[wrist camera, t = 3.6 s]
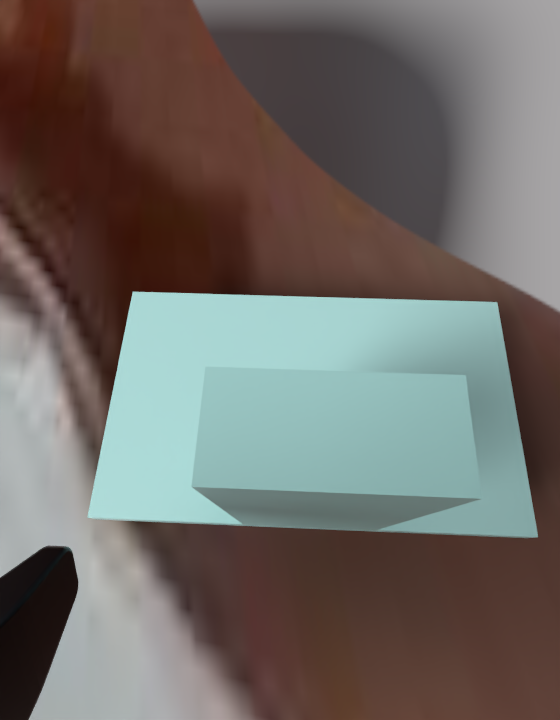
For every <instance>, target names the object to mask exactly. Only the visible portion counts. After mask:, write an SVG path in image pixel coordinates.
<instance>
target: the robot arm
mask: <svg viewBox="0 0 560 720" xmlns="http://www.w3.org/2000/svg"><path fill="white" fill-rule="evenodd" d="M77 591H78V578H77V573H76V568H75V563H74V558H73V553H72V550H71V549H70V548H69V547H65V546H46V547H44V548H42V549H40V550H39V551H37V552H36V553H35V554H33V555H32V556H30V557H29V558H27V559H26V560H25V561H23V562H22V563H20V564H19V565H18V566H16V567H15V568H13V569H12V570H10V571H9V572H8V573H6V574H5V575H3V576H2V577H1V578H0V720H29V717H30V715H31V713H32V711H33V709H34V707H35V704H36V702H37V700H38V698H39V695H40V693H41V691H42V688H43V686H44V683H45V680H46V678H47V675H48V673H49V670H50V667H51V664H52V662H53V659H54V656H55V653H56V650H57V648H58V645H59V642H60V639H61V637H62V634H63V631H64V628H65V626H66V623H67V620H68V617H69V614H70V612H71V609H72V606H73V603H74V601H75V598H76V595H77Z"/></svg>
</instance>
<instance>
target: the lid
mask: <svg viewBox="0 0 560 720" xmlns="http://www.w3.org/2000/svg"><path fill="white" fill-rule="evenodd" d="M87 518H93V519H101V520H124V521H147V522H170V523H193V524H215V525H238V526H261V527H284V528H307V529H330V530H353V531H375V532H398V533H421V534H444V535H467V536H490V537H513V538H534V537H538V533H537V528H536V522H535V516H534V510H533V505H532V499H531V493H530V487H529V482H528V476H527V470H526V464H525V459H524V453H523V447H522V442H521V436H520V430H519V424H518V419H517V413H516V407H515V401H514V396H513V390H512V384H511V378H510V373H509V367H508V361H507V355H506V350H505V344H504V338H503V332H502V327H501V321H500V315H499V310H498V304H497V302H474V301H438V300H403V299H367V298H332V297H297V296H261V295H226V294H190V293H155V292H133V294H132V299H131V304H130V309H129V313H128V318H127V323H126V328H125V333H124V338H123V343H122V348H121V353H120V358H119V363H118V368H117V373H116V378H115V383H114V388H113V393H112V398H111V403H110V408H109V413H108V418H107V423H106V428H105V433H104V438H103V443H102V448H101V453H100V458H99V463H98V467H97V472H96V477H95V482H94V487H93V492H92V497H91V502H90V507H89V512H88V517H87Z"/></svg>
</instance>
